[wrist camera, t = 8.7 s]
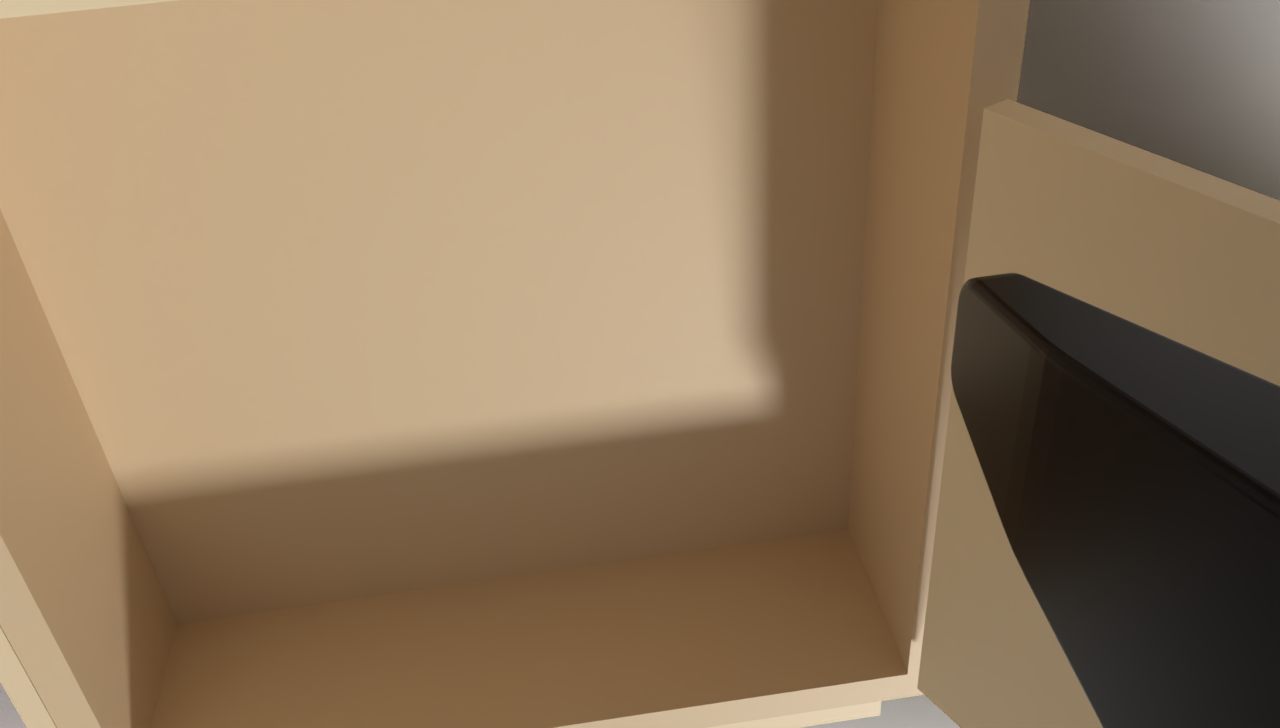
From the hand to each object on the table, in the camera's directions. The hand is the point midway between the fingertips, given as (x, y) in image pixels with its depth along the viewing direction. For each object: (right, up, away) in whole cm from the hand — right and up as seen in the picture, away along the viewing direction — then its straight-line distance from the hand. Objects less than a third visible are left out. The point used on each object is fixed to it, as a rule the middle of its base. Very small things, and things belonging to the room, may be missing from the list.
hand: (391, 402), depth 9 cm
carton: (-1, +3, +9) cm, 9 cm away
